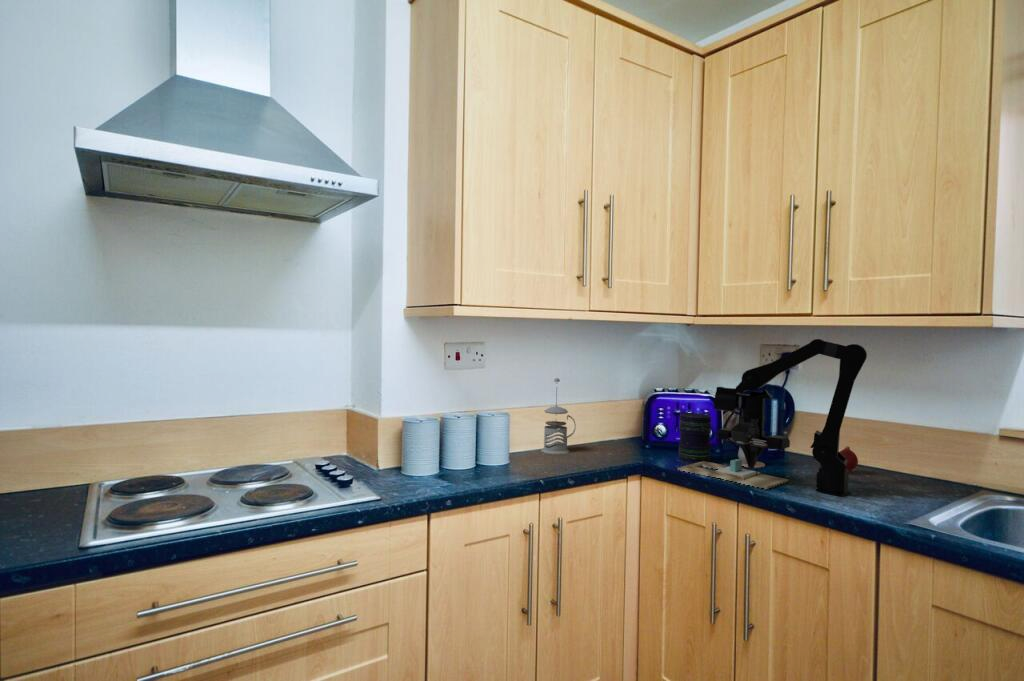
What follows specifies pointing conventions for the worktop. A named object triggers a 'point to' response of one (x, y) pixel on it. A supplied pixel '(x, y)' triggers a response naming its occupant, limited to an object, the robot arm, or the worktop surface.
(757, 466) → the pad
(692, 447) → the storage jar
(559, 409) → the french press
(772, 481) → the board
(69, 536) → the worktop surface
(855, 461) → the onion
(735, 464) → the cover
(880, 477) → the worktop surface
